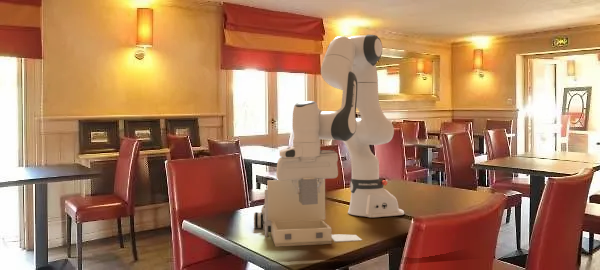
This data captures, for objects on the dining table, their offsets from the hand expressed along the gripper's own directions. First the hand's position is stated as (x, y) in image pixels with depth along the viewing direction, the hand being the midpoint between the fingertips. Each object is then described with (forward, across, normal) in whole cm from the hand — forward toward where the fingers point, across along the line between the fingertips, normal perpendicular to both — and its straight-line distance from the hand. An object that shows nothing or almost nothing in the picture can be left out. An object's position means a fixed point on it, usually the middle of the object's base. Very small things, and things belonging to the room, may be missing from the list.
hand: (307, 192), depth 151 cm
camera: (+16, +12, -20) cm, 28 cm away
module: (+3, 0, 0) cm, 3 cm away
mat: (+16, -12, 0) cm, 20 cm away
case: (+16, +3, -1) cm, 16 cm away
